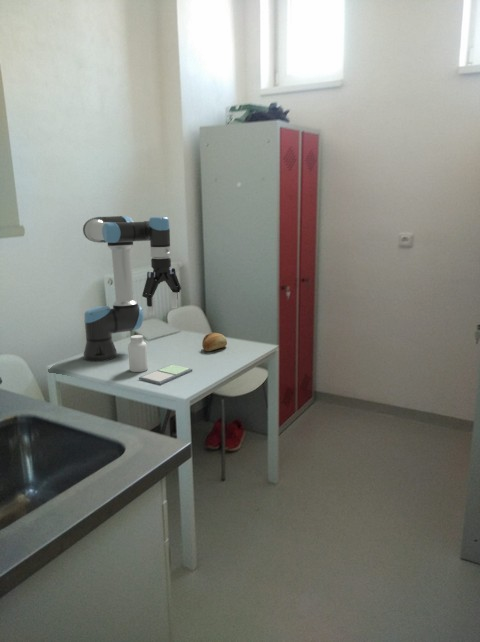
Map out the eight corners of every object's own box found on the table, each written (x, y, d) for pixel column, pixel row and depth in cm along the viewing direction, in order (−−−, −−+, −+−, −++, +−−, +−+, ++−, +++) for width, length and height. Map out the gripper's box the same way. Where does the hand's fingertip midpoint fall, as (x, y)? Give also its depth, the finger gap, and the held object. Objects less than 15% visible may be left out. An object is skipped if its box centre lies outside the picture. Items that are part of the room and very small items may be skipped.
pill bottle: (139, 365, 226) (138, 333, 222) (151, 369, 221) (150, 336, 218) (125, 370, 220) (123, 336, 217) (137, 373, 215) (135, 339, 212)
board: (138, 379, 208) (138, 376, 208) (171, 366, 225) (171, 363, 224) (160, 384, 202) (160, 382, 202) (192, 371, 218) (192, 368, 218)
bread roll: (196, 351, 247) (196, 335, 246) (216, 344, 259) (216, 329, 257) (211, 354, 242) (211, 338, 240) (231, 347, 253) (231, 331, 251)
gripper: (145, 261, 184) (148, 318, 188) (188, 255, 204) (190, 306, 209) (130, 260, 188) (134, 316, 192) (174, 254, 208) (176, 304, 213)
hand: (163, 311), depth 201 cm, fingers open, 13 cm apart
